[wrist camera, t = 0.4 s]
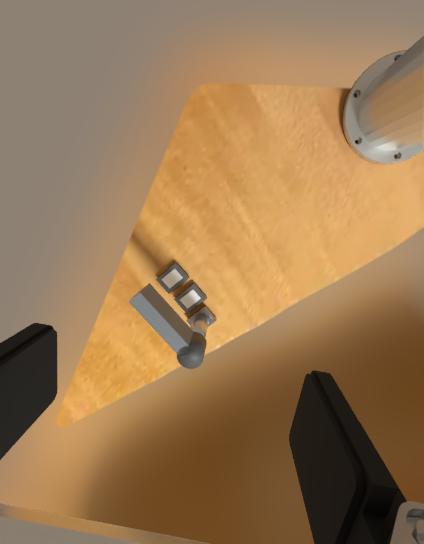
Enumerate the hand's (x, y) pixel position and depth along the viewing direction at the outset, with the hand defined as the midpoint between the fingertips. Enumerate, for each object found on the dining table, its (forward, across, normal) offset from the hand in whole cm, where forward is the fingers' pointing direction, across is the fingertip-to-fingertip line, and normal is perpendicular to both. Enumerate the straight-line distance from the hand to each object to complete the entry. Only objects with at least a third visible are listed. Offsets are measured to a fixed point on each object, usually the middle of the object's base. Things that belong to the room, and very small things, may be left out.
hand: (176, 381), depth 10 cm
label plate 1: (+33, +6, +6) cm, 34 cm away
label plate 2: (+33, +3, +9) cm, 34 cm away
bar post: (+33, +1, +13) cm, 35 cm away
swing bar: (+25, +4, +10) cm, 27 cm away
